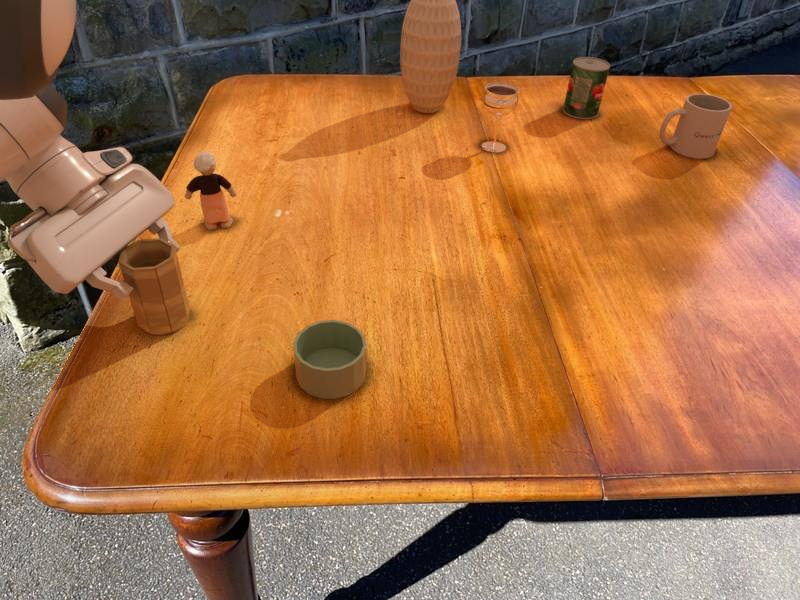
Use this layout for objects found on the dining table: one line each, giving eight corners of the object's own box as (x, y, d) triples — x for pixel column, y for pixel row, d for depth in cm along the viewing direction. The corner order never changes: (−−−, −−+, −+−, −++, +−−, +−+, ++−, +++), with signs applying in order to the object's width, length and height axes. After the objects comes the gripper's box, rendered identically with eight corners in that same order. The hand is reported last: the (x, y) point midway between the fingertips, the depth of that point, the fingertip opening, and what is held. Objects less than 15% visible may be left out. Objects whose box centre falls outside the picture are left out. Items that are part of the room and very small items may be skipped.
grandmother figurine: (236, 213, 106) (226, 143, 98) (242, 225, 103) (231, 154, 95) (189, 223, 103) (174, 151, 95) (193, 235, 100) (179, 163, 92)
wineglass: (495, 157, 125) (504, 98, 117) (470, 145, 129) (477, 87, 121) (517, 148, 128) (527, 90, 121) (492, 136, 132) (500, 79, 124)
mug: (707, 141, 134) (724, 95, 128) (718, 160, 128) (737, 113, 121) (648, 136, 135) (663, 90, 129) (657, 155, 129) (672, 107, 122)
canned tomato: (601, 120, 140) (613, 71, 133) (565, 118, 140) (576, 68, 133) (594, 105, 147) (606, 57, 139) (560, 103, 147) (570, 55, 139)
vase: (428, 125, 135) (439, -19, 117) (386, 106, 141) (389, -33, 123) (466, 109, 142) (481, -29, 124) (424, 92, 149) (432, -42, 130)
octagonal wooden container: (161, 343, 82) (142, 275, 75) (129, 322, 85) (108, 255, 77) (199, 316, 86) (185, 250, 79) (168, 298, 89) (151, 232, 82)
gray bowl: (335, 410, 75) (334, 381, 71) (281, 377, 78) (278, 348, 75) (379, 368, 80) (380, 339, 77) (326, 339, 84) (325, 310, 80)
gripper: (6, 222, 67) (107, 315, 71) (132, 141, 82) (210, 222, 86) (-11, 246, 71) (85, 334, 75) (112, 166, 86) (187, 242, 89)
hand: (153, 273), depth 80 cm, fingers open, 8 cm apart
